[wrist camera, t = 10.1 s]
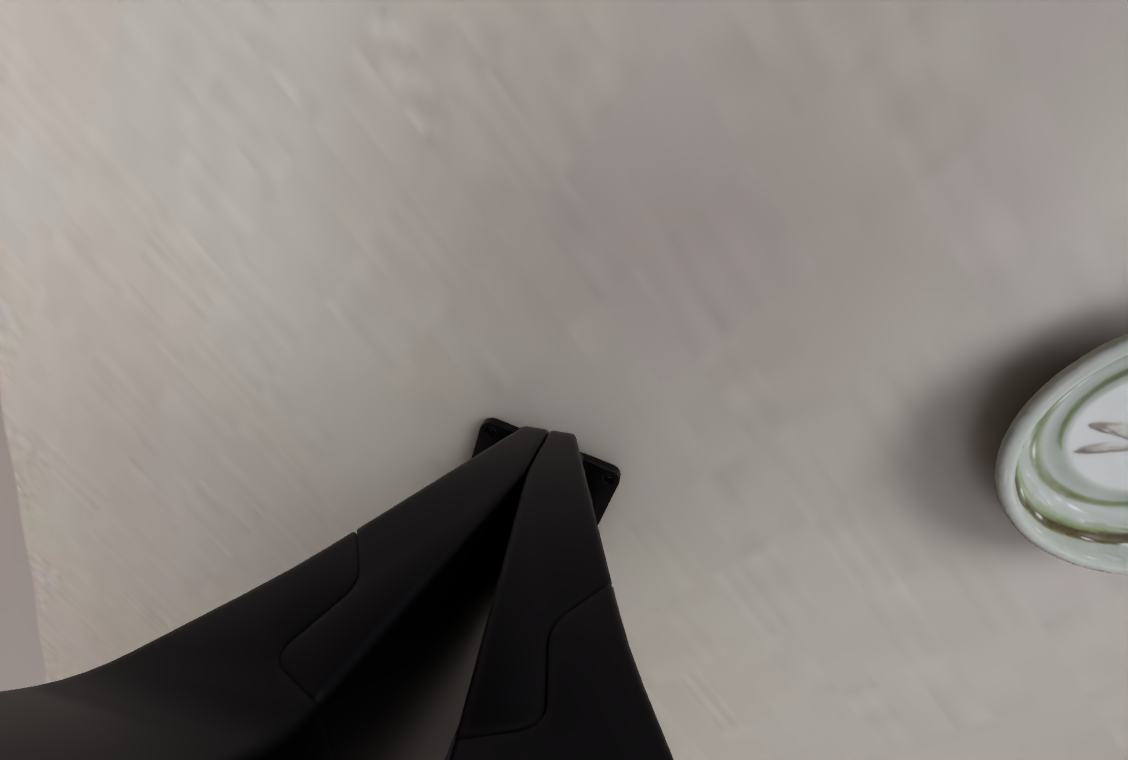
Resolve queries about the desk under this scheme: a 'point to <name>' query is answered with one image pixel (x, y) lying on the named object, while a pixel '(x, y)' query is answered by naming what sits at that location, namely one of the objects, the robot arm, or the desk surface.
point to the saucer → (1073, 463)
